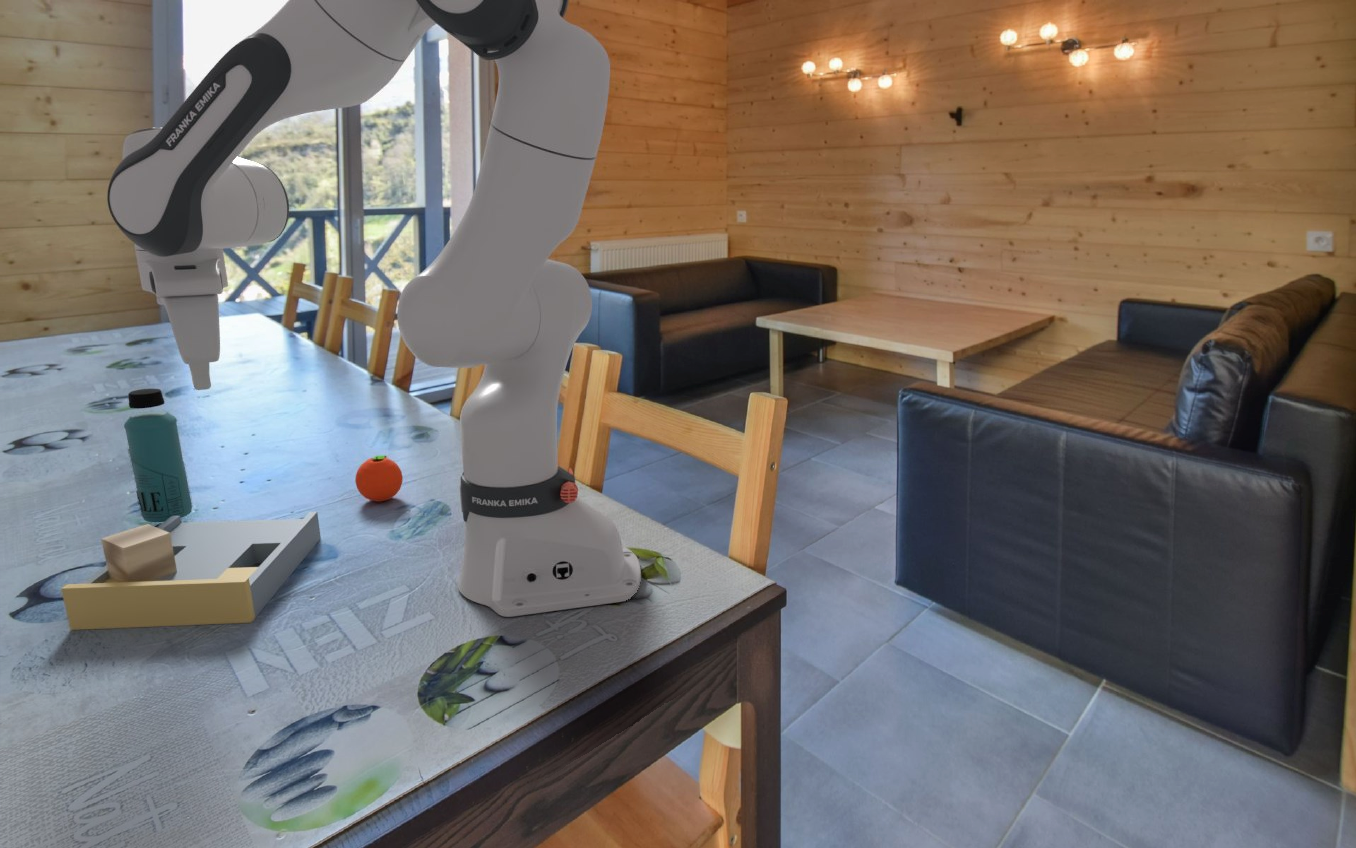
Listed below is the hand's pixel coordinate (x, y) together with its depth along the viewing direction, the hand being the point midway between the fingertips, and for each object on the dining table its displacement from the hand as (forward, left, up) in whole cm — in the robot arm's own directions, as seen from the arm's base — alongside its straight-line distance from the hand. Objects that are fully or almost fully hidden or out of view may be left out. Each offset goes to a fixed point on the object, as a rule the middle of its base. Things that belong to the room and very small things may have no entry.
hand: (202, 387), depth 99 cm
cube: (+5, +10, -20) cm, 23 cm away
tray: (0, +5, -23) cm, 24 cm away
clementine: (-14, -21, -23) cm, 34 cm away
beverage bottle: (+14, -13, -23) cm, 30 cm away
